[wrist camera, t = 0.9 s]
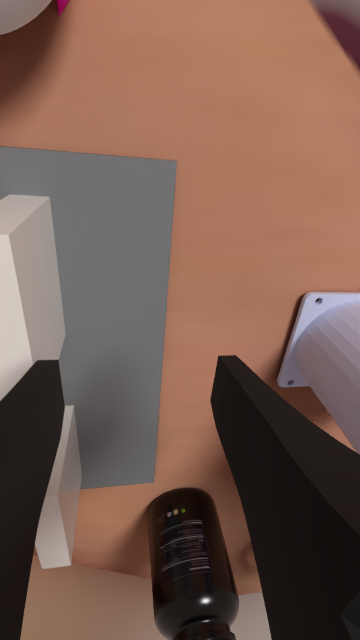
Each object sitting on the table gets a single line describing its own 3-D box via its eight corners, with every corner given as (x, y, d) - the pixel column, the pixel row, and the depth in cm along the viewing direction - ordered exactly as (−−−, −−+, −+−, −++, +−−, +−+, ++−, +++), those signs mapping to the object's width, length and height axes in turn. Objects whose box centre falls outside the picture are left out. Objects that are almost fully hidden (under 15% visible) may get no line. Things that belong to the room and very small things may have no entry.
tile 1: (49, 196, 15) (8, 235, 10) (65, 334, 19) (42, 415, 14) (6, 194, 15) (-62, 231, 10) (31, 334, 19) (-6, 418, 14)
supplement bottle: (219, 512, 34) (261, 677, 24) (158, 530, 34) (173, 703, 24) (206, 477, 30) (248, 654, 20) (137, 498, 30) (144, 685, 20)
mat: (175, 160, 16) (176, 161, 15) (153, 478, 29) (153, 482, 29) (-180, 131, 13) (-188, 130, 13) (-28, 494, 26) (-30, 499, 26)
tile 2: (73, 405, 22) (57, 495, 17) (81, 474, 27) (70, 565, 21) (44, 406, 22) (18, 498, 17) (57, 476, 26) (39, 569, 21)
